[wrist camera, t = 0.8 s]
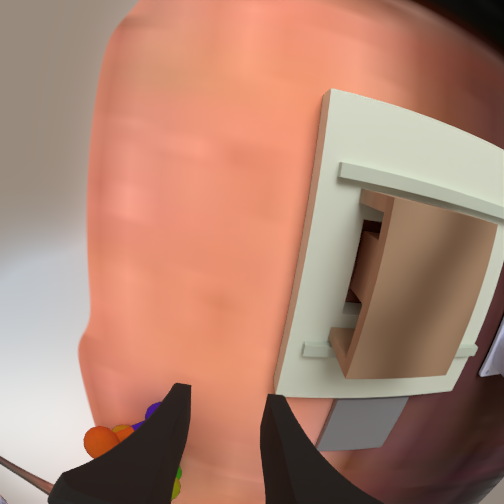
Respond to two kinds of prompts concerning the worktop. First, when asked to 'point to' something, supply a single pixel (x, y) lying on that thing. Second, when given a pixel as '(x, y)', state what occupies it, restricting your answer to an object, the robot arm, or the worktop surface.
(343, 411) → the slate pad
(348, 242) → the puzzle board
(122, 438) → the molecular model
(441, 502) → the worktop surface
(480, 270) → the walnut cover
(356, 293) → the terracotta block
